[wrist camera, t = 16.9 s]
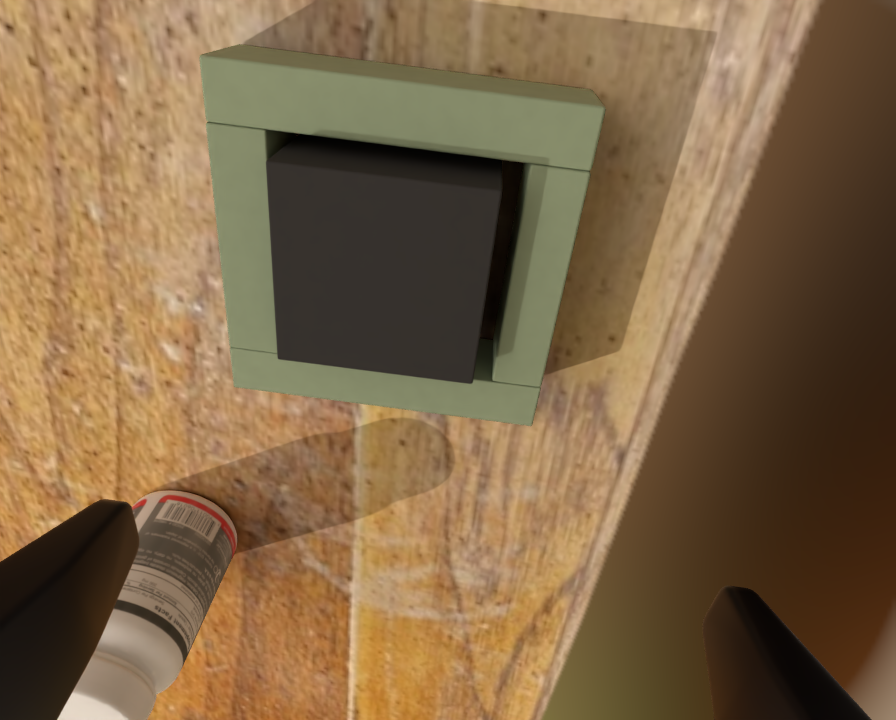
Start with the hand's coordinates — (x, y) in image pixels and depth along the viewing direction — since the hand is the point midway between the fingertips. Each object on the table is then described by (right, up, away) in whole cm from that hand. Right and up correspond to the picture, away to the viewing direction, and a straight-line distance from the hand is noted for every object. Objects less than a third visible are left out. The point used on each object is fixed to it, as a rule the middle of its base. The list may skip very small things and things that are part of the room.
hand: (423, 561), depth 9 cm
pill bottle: (-11, -4, +18) cm, 21 cm away
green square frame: (-1, +7, +9) cm, 12 cm away
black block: (-1, +7, +9) cm, 12 cm away
